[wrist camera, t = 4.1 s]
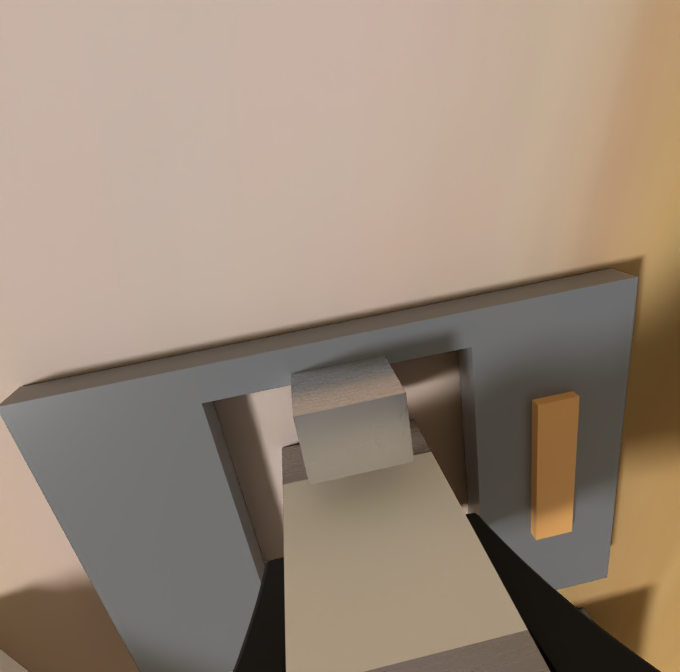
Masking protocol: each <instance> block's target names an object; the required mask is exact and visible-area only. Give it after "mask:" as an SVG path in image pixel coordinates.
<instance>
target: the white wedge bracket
mask: <svg viewBox="0 0 680 672" xmlns="http://www.w3.org/2000/svg"><path fill="white" fill-rule="evenodd" d="M0 672H29V671H27V670H26V669H25V668H24V667H22V666H21V665H20V664H18V663H17V662H16V661H15V660H13V659H12V658H11V657H10V656H8V655H7V654H6V653H5V652H3V651H2V650H1V649H0Z"/></svg>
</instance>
